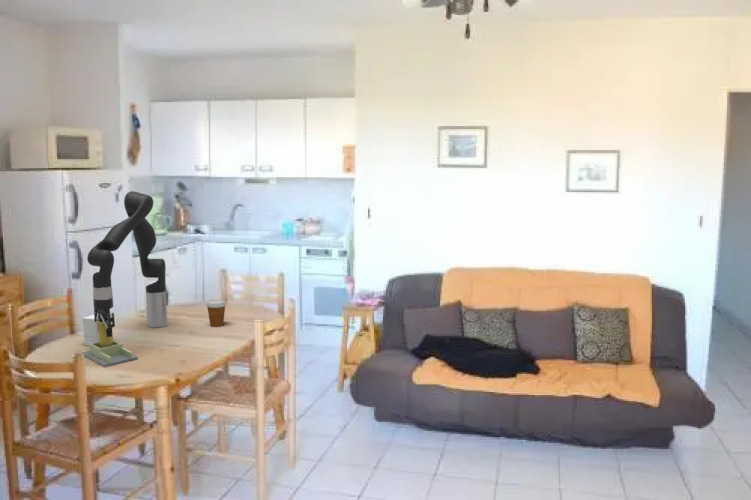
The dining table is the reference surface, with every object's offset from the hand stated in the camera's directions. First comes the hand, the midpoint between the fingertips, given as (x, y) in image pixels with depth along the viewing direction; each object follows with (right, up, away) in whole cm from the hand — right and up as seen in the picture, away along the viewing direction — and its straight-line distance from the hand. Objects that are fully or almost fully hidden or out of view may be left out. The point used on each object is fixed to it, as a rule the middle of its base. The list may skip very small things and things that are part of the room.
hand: (105, 334), depth 277 cm
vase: (0, -8, +1) cm, 8 cm away
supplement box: (-11, -7, +17) cm, 22 cm away
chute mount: (+2, -9, -1) cm, 10 cm away
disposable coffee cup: (+35, -2, +49) cm, 60 cm away
